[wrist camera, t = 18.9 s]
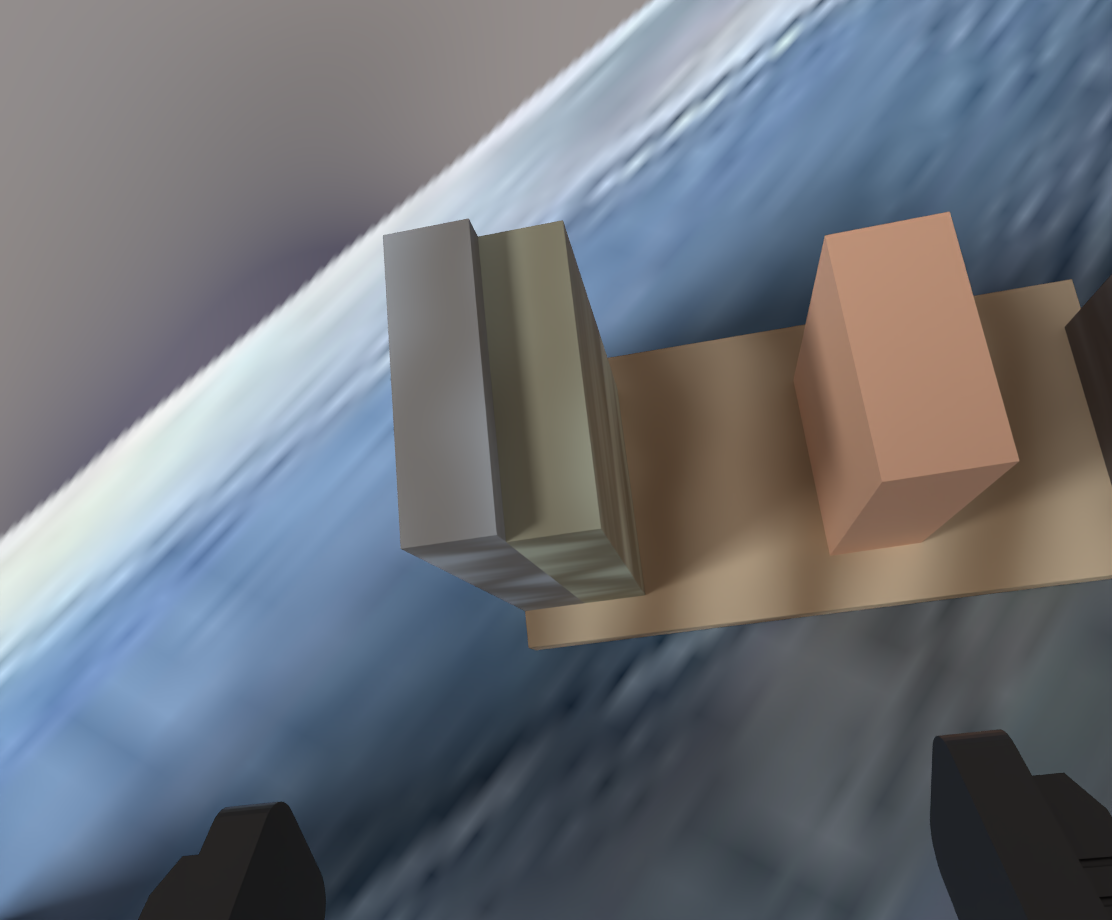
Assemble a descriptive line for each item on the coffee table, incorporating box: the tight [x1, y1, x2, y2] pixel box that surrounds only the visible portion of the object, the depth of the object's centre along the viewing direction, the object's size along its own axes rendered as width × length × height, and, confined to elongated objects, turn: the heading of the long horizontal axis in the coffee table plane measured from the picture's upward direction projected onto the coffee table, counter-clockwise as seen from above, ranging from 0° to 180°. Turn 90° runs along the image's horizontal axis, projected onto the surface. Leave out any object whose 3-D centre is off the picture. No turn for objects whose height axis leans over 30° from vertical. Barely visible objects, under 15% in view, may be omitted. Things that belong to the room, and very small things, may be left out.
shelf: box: [383, 219, 1112, 650], centre depth 30 cm, size 24×12×16 cm, turn 96°
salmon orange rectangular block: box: [793, 212, 1019, 556], centre depth 30 cm, size 4×8×12 cm, turn 7°
